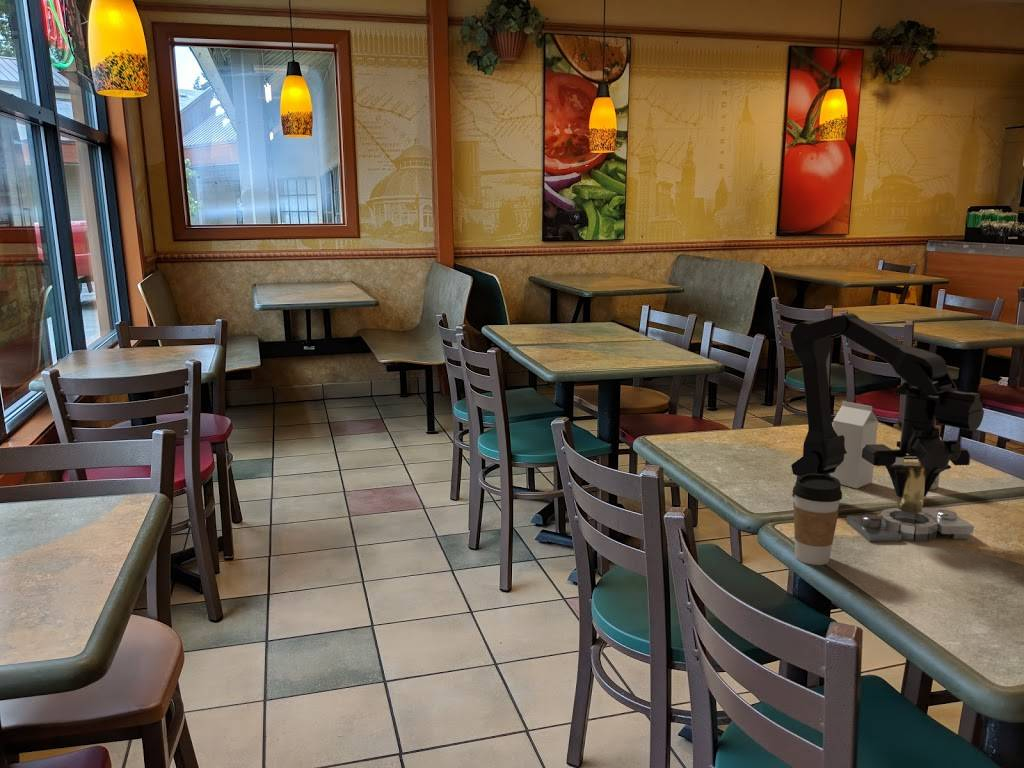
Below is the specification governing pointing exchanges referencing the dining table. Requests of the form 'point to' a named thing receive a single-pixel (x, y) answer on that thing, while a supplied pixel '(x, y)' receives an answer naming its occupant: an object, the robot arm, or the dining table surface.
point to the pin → (913, 488)
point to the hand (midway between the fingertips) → (910, 496)
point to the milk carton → (855, 443)
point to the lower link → (885, 529)
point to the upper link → (928, 522)
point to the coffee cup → (815, 517)
